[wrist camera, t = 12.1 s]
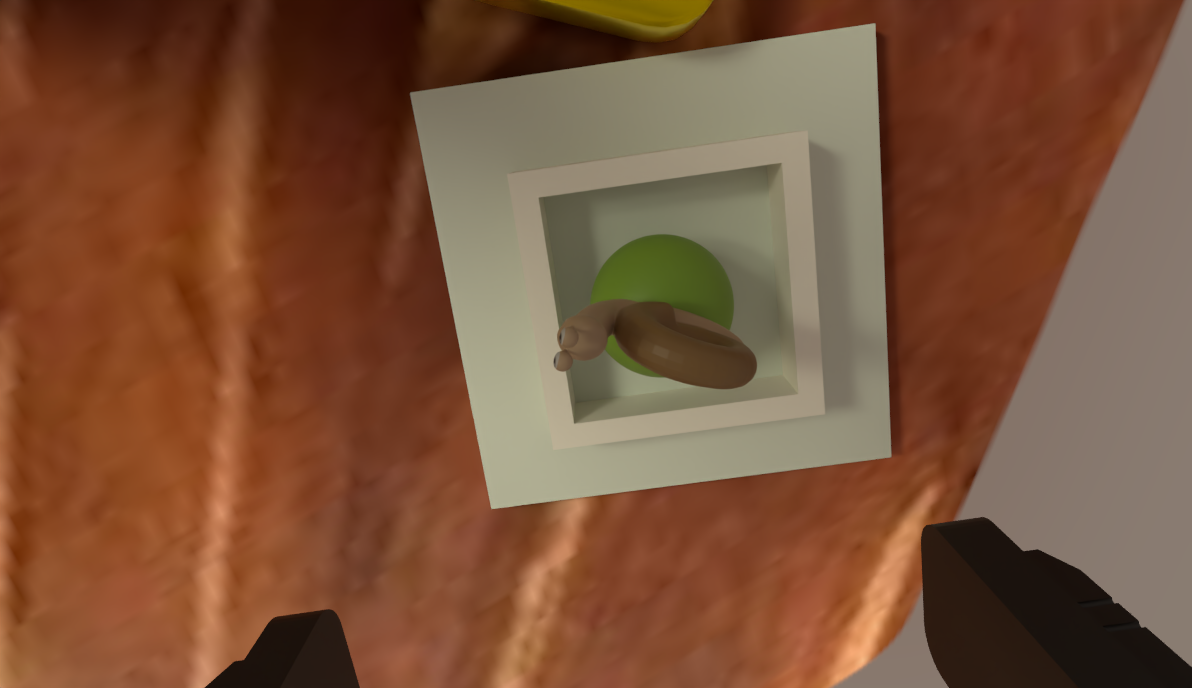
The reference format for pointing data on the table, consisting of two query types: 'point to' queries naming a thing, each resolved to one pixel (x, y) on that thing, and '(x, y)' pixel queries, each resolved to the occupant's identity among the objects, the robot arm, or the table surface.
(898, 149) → the table surface
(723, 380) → the snail figurine
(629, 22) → the element tile
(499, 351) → the collar stand
